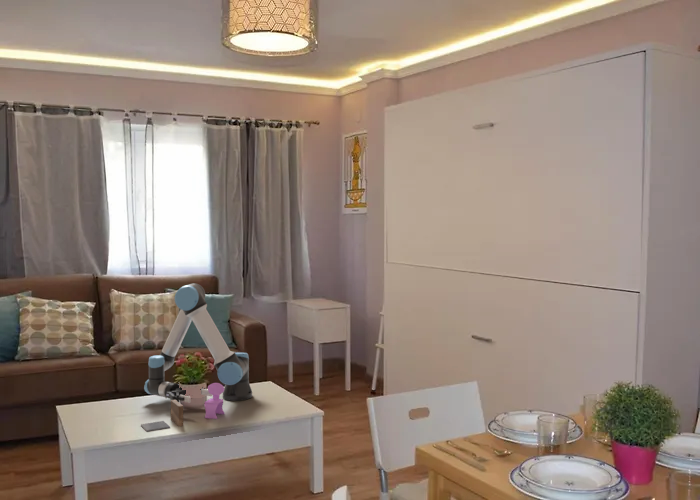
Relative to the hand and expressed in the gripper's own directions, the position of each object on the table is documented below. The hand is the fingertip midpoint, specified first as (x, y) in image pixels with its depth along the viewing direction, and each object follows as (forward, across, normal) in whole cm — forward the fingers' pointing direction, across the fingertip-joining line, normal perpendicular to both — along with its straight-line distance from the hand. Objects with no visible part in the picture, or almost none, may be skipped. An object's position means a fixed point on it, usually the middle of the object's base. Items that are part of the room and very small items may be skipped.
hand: (200, 396), depth 312 cm
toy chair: (+8, 0, -8) cm, 12 cm away
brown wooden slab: (+2, +16, -8) cm, 18 cm away
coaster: (-1, +26, -8) cm, 27 cm away
